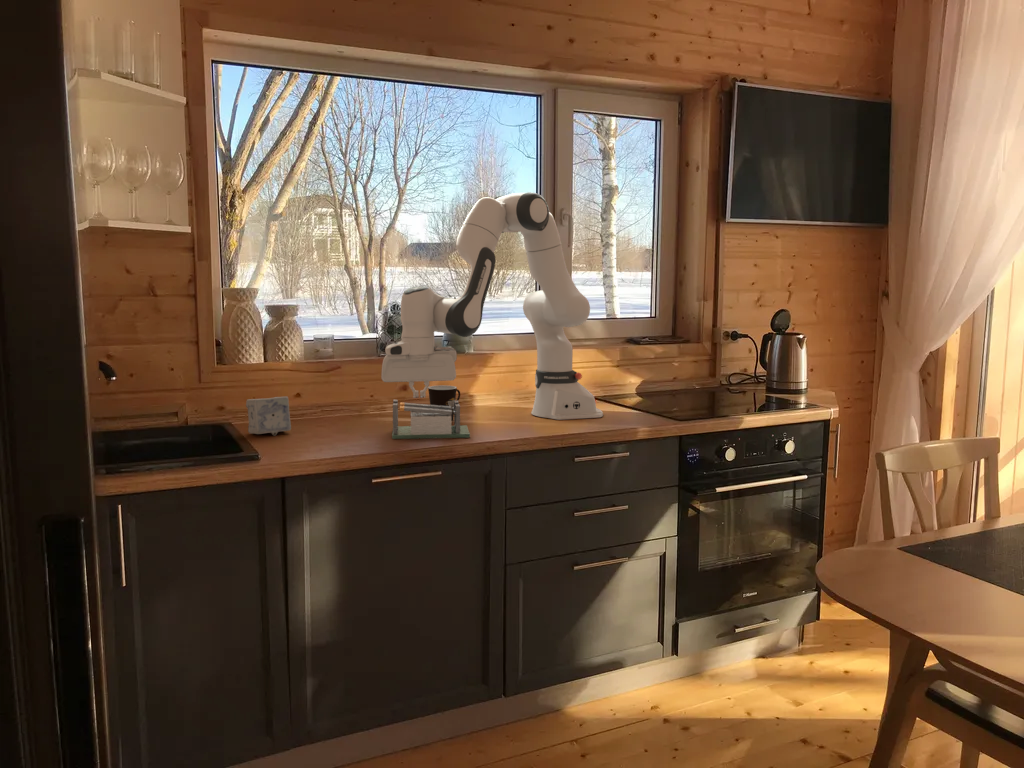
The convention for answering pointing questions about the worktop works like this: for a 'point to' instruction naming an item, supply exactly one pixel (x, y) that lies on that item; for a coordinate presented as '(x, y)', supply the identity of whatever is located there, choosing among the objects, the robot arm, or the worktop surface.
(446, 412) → the strap
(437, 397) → the coffee mug
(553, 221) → the robot arm
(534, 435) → the worktop surface
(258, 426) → the incense holder
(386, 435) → the worktop surface
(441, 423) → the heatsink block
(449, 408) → the silver flat bar
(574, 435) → the worktop surface
